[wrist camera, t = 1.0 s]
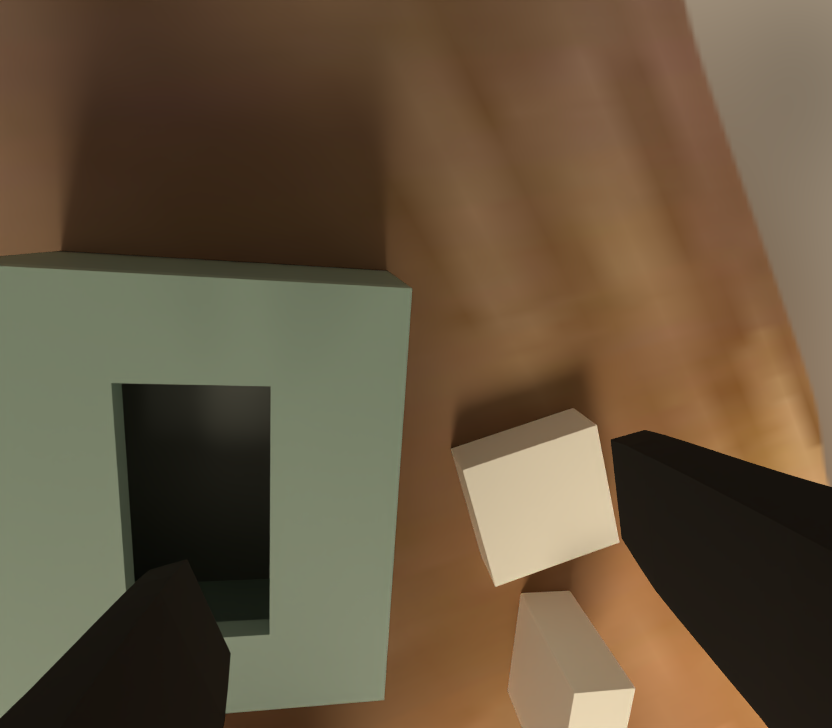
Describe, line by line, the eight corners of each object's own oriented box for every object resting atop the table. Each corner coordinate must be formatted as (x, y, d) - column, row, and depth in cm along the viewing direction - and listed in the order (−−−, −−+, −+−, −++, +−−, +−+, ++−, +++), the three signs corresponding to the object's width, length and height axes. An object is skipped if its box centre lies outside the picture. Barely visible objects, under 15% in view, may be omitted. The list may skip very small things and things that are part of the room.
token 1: (591, 512, 22) (619, 542, 20) (479, 552, 22) (495, 586, 19) (569, 404, 21) (596, 425, 18) (448, 444, 20) (462, 470, 18)
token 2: (553, 686, 24) (611, 802, 19) (507, 690, 23) (554, 809, 18) (569, 590, 22) (635, 688, 18) (520, 592, 22) (574, 693, 17)
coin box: (369, 579, 21) (384, 700, 15) (90, 591, 19) (-1, 732, 14) (386, 270, 18) (411, 288, 12) (60, 250, 16) (-70, 262, 11)
